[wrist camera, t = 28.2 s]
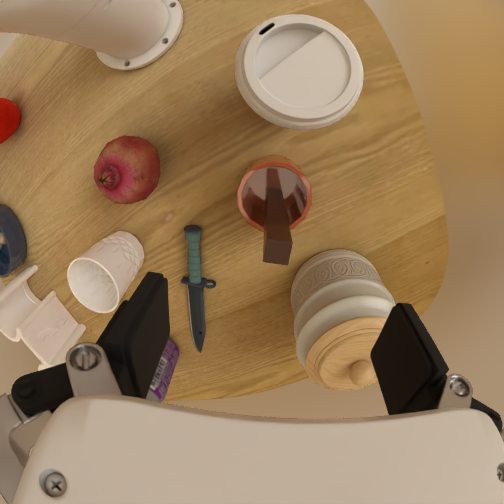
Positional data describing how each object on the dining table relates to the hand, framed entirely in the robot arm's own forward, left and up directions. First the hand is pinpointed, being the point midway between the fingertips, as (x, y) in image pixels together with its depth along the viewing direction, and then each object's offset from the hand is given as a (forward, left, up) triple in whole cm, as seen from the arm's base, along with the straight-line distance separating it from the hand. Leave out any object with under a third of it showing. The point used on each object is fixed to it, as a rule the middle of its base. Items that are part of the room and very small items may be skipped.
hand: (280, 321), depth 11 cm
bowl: (+13, -49, -26) cm, 57 cm away
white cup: (+12, -20, -26) cm, 35 cm away
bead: (+13, -48, -24) cm, 55 cm away
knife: (+18, -8, -26) cm, 32 cm away
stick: (+1, 0, -25) cm, 25 cm away
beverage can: (+30, -15, -26) cm, 42 cm away
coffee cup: (-12, 0, -26) cm, 28 cm away
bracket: (+30, -37, -26) cm, 54 cm away
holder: (0, 0, -26) cm, 26 cm away
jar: (+13, +11, -26) cm, 31 cm away
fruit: (-1, -17, -26) cm, 31 cm away
